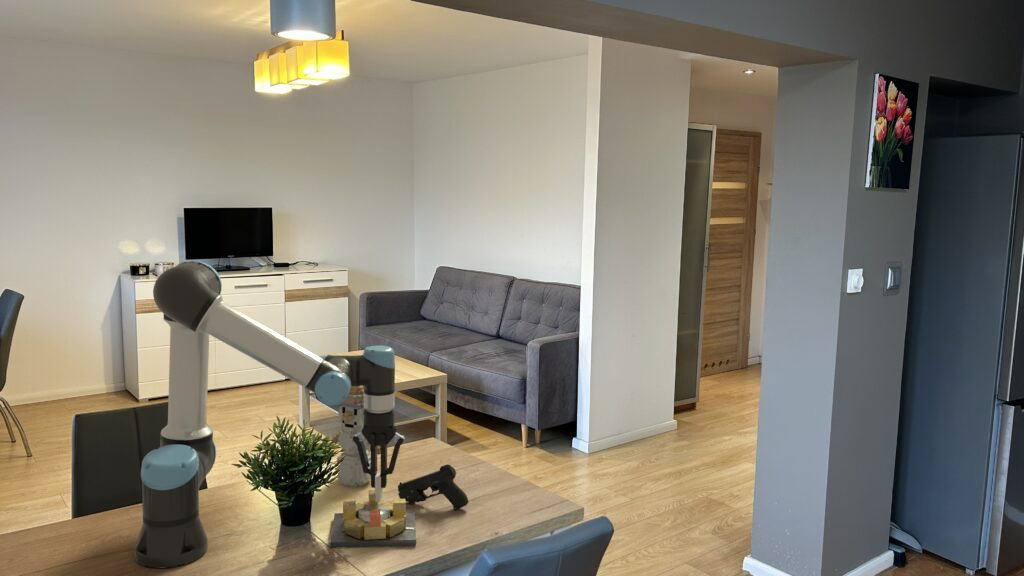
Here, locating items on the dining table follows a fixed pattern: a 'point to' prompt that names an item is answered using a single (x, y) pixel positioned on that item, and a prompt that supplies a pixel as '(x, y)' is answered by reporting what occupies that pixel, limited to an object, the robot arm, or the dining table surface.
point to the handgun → (434, 487)
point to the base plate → (347, 541)
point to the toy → (352, 424)
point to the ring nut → (374, 519)
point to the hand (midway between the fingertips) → (378, 499)
